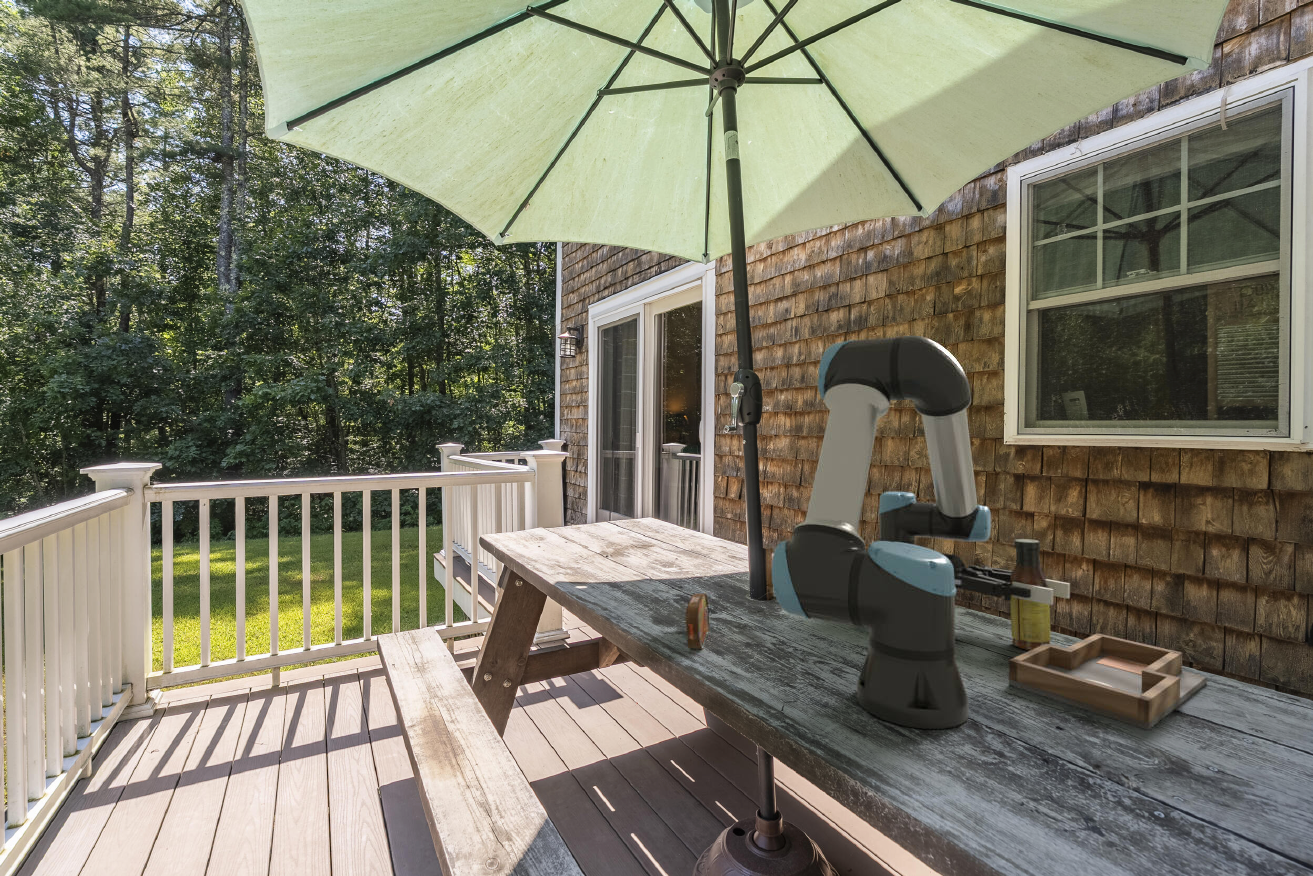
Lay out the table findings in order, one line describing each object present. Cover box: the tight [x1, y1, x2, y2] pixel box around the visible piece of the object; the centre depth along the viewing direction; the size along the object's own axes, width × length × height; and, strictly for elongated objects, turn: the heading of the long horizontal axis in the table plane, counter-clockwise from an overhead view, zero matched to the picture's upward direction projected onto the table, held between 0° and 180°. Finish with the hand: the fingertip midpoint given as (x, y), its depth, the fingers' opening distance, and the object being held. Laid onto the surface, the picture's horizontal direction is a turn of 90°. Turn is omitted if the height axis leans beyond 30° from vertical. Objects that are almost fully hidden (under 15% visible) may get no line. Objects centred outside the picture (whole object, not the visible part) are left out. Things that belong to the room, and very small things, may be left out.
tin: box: [685, 592, 710, 650], centre depth 118 cm, size 15×3×8 cm, turn 168°
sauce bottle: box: [1009, 538, 1052, 652], centre depth 114 cm, size 7×6×20 cm
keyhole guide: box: [1008, 632, 1208, 731], centre depth 97 cm, size 26×18×4 cm
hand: (1060, 594), depth 110 cm, fingers closed on sauce bottle, 6 cm apart
